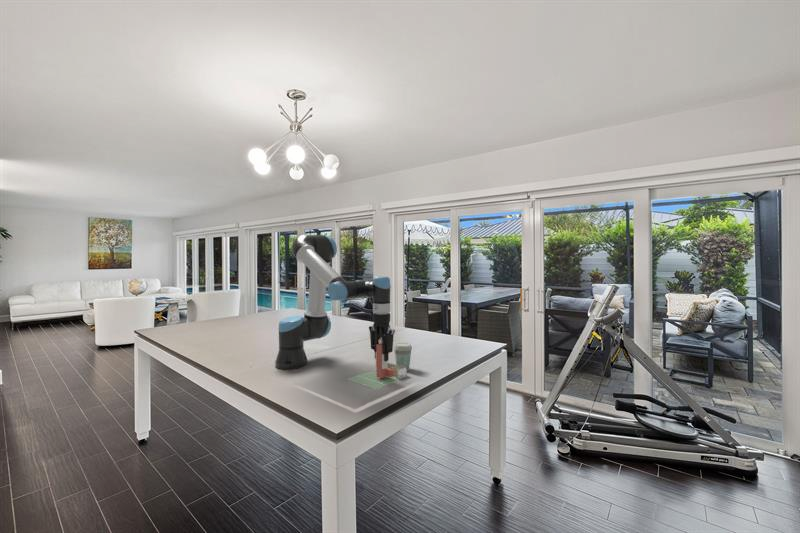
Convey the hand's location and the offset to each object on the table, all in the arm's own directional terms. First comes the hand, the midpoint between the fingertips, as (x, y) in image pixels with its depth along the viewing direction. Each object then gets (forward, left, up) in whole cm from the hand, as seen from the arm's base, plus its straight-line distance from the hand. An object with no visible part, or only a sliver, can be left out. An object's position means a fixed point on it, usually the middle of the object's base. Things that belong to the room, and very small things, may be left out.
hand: (381, 367), depth 149 cm
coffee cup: (-3, +18, -6) cm, 19 cm away
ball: (0, +7, -4) cm, 8 cm away
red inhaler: (0, 0, -4) cm, 4 cm away
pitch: (-2, -3, -6) cm, 7 cm away
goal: (0, +7, -6) cm, 9 cm away
